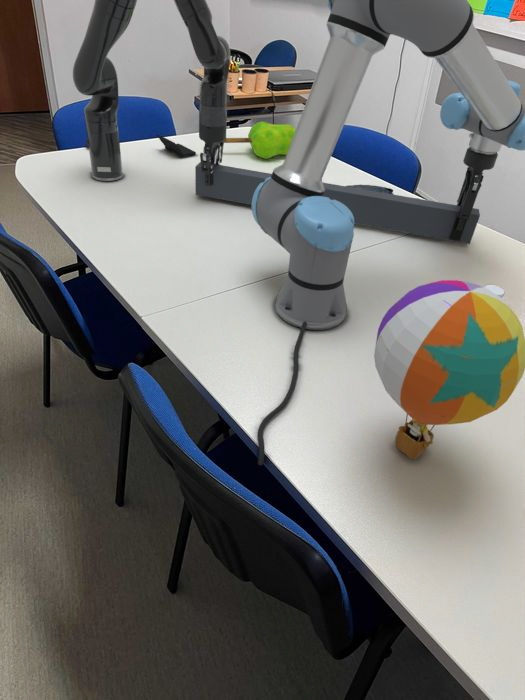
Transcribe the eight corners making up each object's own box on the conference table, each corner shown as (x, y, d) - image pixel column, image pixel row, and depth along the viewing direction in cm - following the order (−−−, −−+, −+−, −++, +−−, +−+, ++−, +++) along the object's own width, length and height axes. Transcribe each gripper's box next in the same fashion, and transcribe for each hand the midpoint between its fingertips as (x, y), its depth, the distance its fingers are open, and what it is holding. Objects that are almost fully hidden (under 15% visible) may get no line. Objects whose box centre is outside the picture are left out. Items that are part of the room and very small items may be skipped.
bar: (468, 237, 145) (479, 209, 140) (469, 244, 142) (480, 215, 136) (200, 189, 157) (200, 161, 152) (195, 194, 154) (195, 166, 149)
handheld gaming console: (200, 148, 184) (184, 127, 176) (190, 164, 183) (174, 144, 175) (177, 144, 191) (162, 124, 182) (167, 160, 189) (151, 141, 181)
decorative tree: (214, 118, 187) (294, 118, 193) (214, 147, 194) (292, 146, 199) (220, 132, 174) (307, 132, 179) (220, 164, 180) (304, 162, 185)
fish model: (393, 208, 159) (397, 192, 156) (325, 201, 160) (327, 185, 157) (391, 200, 165) (395, 185, 161) (325, 193, 165) (328, 178, 162)
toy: (324, 440, 84) (359, 279, 65) (398, 390, 94) (447, 240, 76) (424, 525, 73) (502, 362, 54) (495, 458, 83) (581, 302, 65)
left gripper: (208, 112, 148) (207, 172, 159) (190, 125, 137) (190, 188, 148) (233, 117, 147) (231, 176, 157) (217, 130, 136) (215, 193, 147)
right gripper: (466, 137, 136) (440, 220, 151) (469, 157, 123) (440, 246, 137) (495, 142, 135) (466, 225, 150) (502, 163, 122) (469, 252, 136)
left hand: (211, 182), depth 152 cm, fingers closed on bar, 4 cm apart
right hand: (454, 235), depth 144 cm, fingers closed on bar, 4 cm apart
